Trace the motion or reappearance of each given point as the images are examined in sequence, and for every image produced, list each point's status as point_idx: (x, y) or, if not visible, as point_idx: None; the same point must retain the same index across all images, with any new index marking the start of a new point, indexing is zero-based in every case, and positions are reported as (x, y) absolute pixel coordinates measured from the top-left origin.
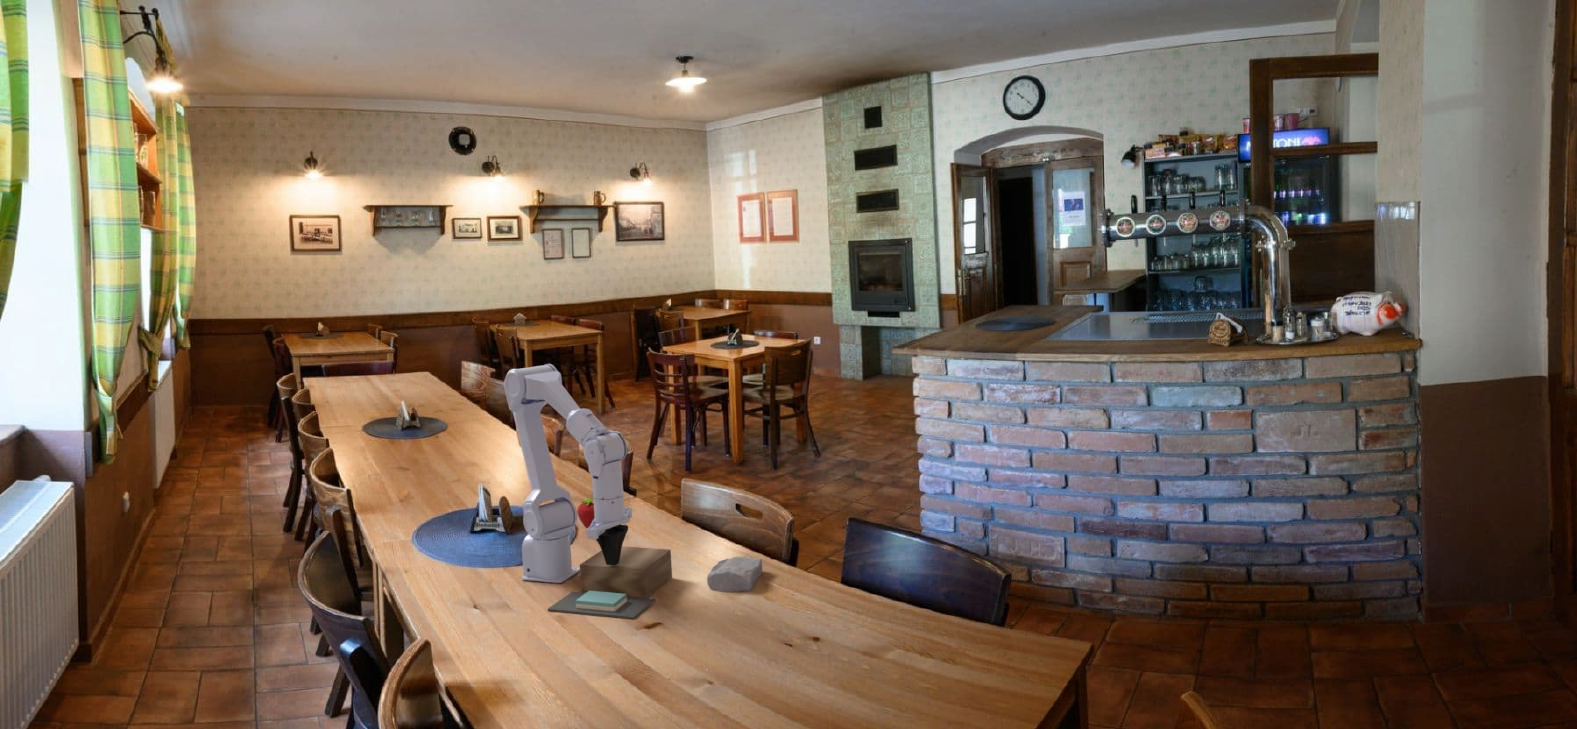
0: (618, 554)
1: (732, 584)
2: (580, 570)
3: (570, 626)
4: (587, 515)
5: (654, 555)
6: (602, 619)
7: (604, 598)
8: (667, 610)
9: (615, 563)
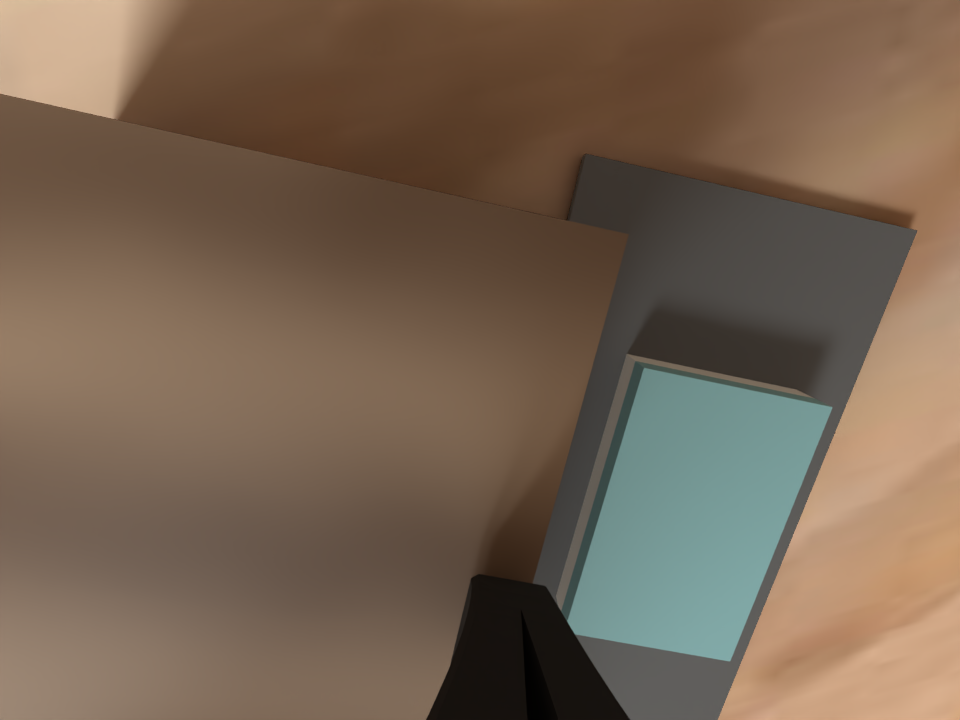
0: (522, 653)
1: None
2: None
3: (934, 575)
4: None
5: (96, 232)
6: (865, 432)
7: (719, 498)
8: (777, 7)
9: (553, 601)
